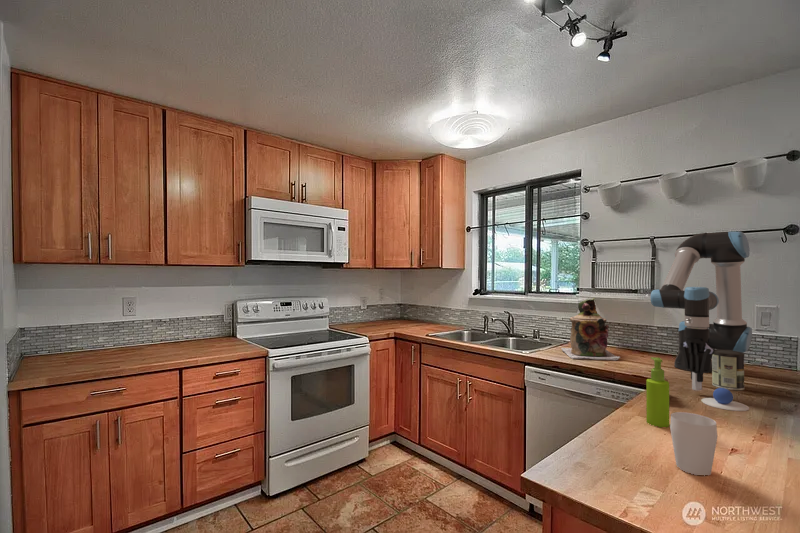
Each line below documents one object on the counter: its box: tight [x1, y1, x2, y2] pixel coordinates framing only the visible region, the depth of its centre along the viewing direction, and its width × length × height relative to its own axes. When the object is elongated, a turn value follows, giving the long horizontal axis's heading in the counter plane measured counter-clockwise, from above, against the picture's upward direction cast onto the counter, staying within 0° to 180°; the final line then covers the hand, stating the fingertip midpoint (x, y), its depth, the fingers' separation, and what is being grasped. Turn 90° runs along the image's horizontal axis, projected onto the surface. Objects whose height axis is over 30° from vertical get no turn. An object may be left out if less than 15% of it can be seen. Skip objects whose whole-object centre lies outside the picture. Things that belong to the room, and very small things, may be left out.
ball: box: [712, 387, 734, 404], centre depth 139 cm, size 6×6×6 cm
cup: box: [669, 411, 718, 477], centre depth 93 cm, size 9×9×12 cm
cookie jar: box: [560, 297, 621, 361], centre depth 217 cm, size 25×25×32 cm
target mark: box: [700, 397, 750, 412], centre depth 138 cm, size 13×13×1 cm
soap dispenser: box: [645, 356, 670, 428], centre depth 121 cm, size 6×7×20 cm
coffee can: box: [711, 349, 745, 391], centre depth 160 cm, size 10×10×14 cm
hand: (696, 389), depth 149 cm, fingers closed
